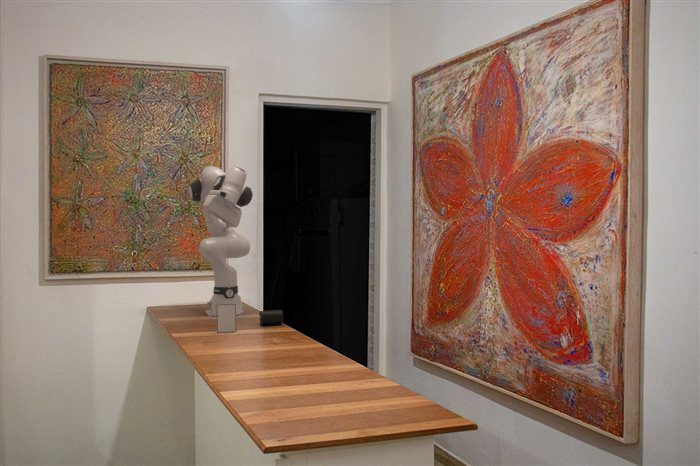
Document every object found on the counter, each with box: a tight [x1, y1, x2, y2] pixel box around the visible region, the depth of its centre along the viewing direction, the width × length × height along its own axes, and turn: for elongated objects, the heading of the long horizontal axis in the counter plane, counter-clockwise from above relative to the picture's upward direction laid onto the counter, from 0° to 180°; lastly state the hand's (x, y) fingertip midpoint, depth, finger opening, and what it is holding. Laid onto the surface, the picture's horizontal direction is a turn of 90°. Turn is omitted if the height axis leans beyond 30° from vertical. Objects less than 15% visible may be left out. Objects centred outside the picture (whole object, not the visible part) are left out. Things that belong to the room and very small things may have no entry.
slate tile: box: [216, 304, 237, 334], centre depth 315 cm, size 2×8×12 cm, turn 100°
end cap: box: [258, 309, 284, 327], centre depth 332 cm, size 10×7×7 cm
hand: (216, 227), depth 325 cm, fingers open, 8 cm apart
